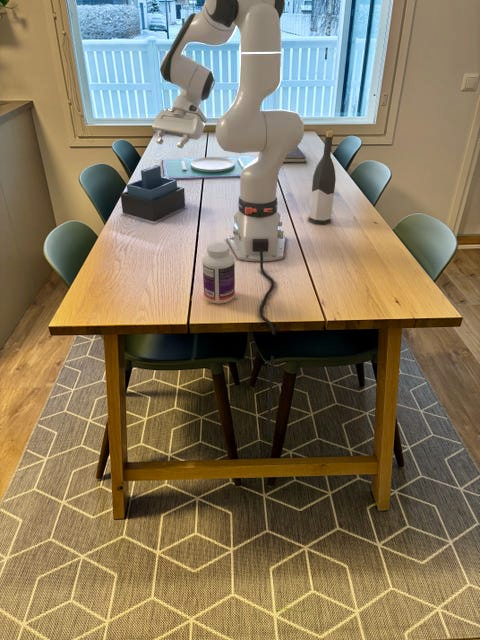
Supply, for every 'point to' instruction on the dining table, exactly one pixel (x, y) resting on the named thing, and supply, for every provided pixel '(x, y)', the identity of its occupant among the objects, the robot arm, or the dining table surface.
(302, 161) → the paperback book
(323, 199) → the wine bottle
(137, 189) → the caddy
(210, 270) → the pill bottle
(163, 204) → the tote
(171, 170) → the place mat
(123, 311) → the dining table surface
